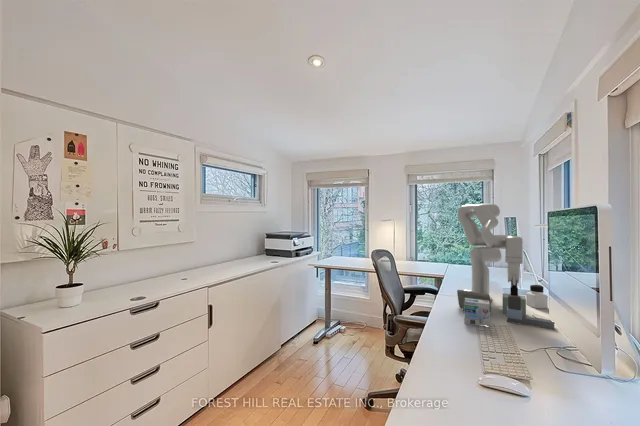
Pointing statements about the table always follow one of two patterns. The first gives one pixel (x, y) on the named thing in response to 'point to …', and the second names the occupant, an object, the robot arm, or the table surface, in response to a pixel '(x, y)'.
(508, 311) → the carriage
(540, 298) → the medicine bottle
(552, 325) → the rail
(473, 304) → the light bulb box
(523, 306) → the cabinet
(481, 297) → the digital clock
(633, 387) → the table surface
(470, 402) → the table surface
